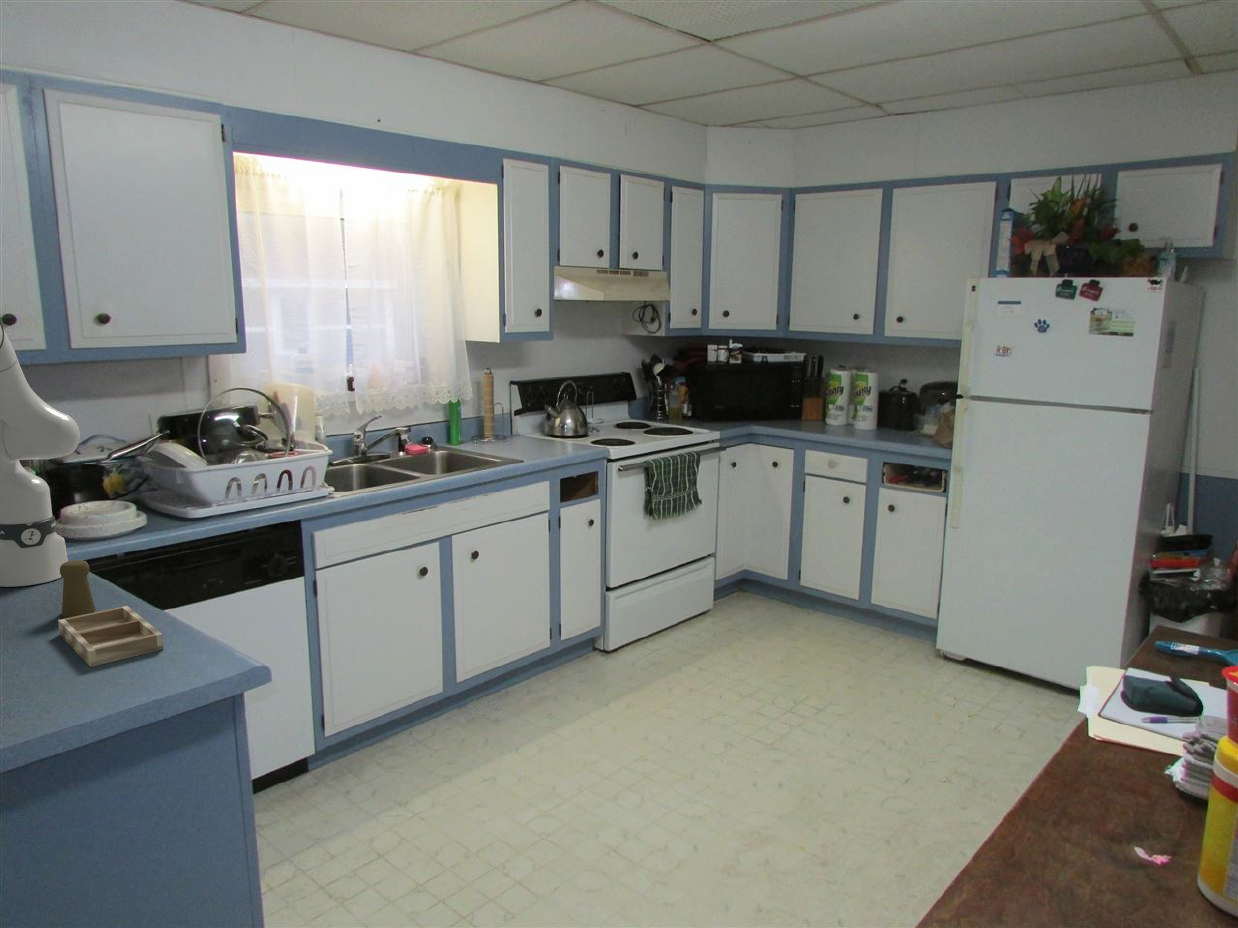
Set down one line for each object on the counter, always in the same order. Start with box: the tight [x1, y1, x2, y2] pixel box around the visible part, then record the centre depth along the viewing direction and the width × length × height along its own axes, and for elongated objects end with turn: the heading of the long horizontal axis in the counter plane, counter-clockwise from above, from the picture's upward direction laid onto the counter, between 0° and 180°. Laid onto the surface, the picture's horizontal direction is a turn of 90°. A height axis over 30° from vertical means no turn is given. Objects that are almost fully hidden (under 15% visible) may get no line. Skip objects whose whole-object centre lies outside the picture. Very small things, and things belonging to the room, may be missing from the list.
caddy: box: [57, 605, 164, 668], centre depth 161 cm, size 21×12×3 cm, turn 46°
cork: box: [60, 559, 97, 618], centre depth 175 cm, size 6×6×11 cm
